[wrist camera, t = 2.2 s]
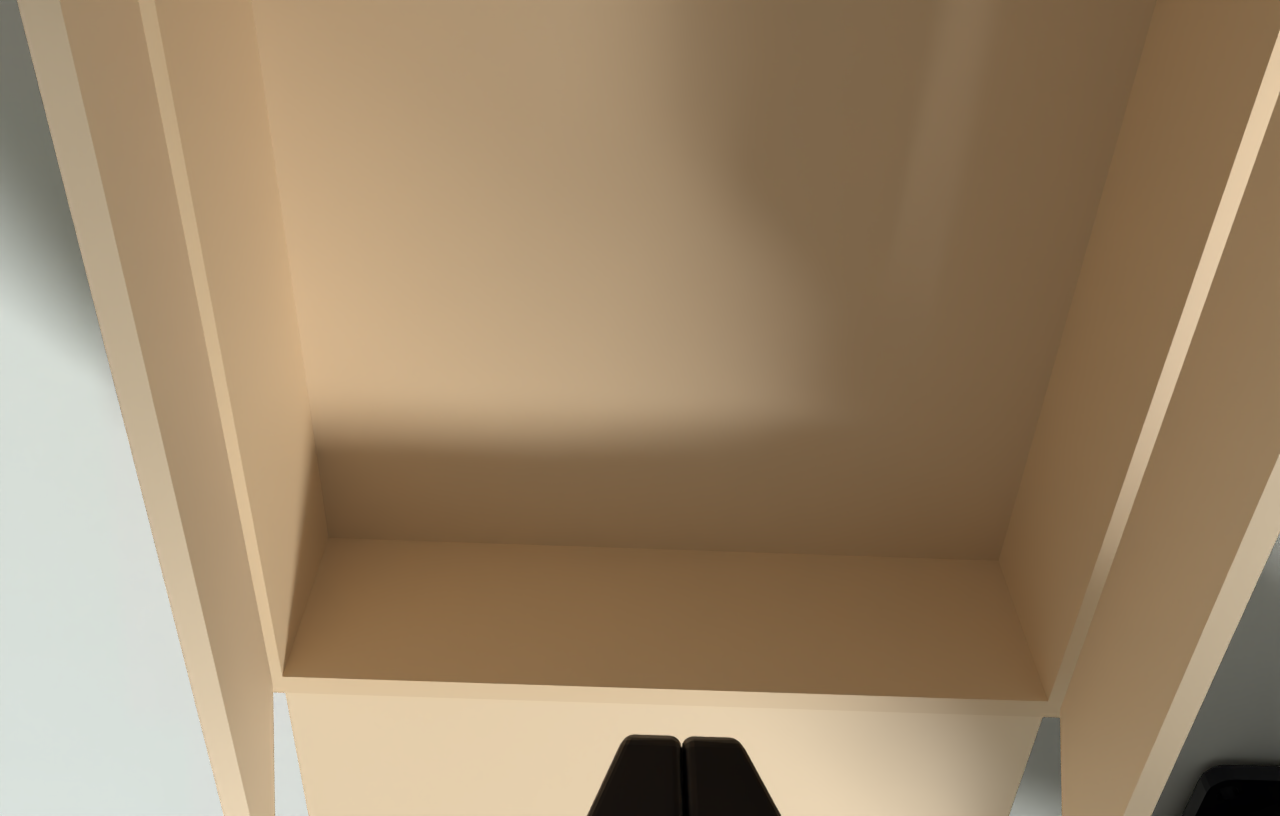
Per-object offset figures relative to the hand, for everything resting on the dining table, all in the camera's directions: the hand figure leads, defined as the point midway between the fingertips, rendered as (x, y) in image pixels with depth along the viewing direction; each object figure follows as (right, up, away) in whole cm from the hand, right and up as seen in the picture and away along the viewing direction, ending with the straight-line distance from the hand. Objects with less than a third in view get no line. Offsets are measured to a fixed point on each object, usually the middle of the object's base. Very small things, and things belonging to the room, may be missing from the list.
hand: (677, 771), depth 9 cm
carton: (+1, +7, +10) cm, 13 cm away
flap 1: (-6, +5, +7) cm, 10 cm away
